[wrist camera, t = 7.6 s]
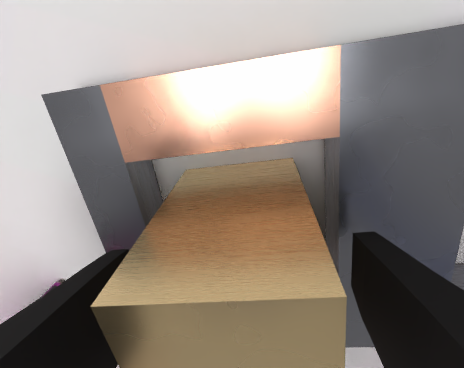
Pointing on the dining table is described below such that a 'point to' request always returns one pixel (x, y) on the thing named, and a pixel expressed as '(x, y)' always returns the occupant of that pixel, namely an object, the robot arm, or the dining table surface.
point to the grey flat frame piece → (293, 130)
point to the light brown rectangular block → (228, 278)
